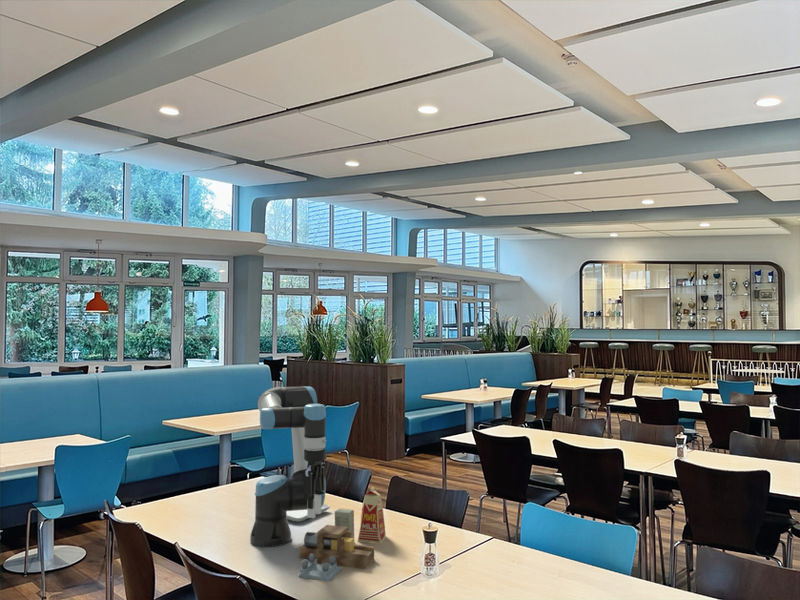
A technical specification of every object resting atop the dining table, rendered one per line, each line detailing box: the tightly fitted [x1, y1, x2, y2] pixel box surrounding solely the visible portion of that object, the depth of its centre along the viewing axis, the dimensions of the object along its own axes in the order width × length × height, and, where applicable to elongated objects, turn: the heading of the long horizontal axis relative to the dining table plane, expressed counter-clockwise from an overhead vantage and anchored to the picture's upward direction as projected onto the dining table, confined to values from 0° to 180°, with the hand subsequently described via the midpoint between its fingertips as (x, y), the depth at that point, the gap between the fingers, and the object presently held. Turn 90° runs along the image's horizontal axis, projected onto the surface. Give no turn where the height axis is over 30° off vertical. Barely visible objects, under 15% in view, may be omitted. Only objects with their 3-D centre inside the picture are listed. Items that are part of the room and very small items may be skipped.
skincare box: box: [334, 508, 355, 539], centre depth 237 cm, size 6×4×12 cm
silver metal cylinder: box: [303, 531, 333, 549], centre depth 222 cm, size 10×5×5 cm, turn 73°
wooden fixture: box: [298, 524, 375, 570], centre depth 221 cm, size 26×8×10 cm, turn 73°
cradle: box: [298, 554, 342, 582], centre depth 209 cm, size 11×9×5 cm
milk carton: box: [357, 486, 386, 545], centre depth 242 cm, size 9×9×20 cm
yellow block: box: [331, 537, 355, 552], centre depth 220 cm, size 7×4×4 cm, turn 73°
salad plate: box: [286, 503, 331, 523], centre depth 272 cm, size 21×21×3 cm
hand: (314, 515), depth 223 cm, fingers open, 4 cm apart
